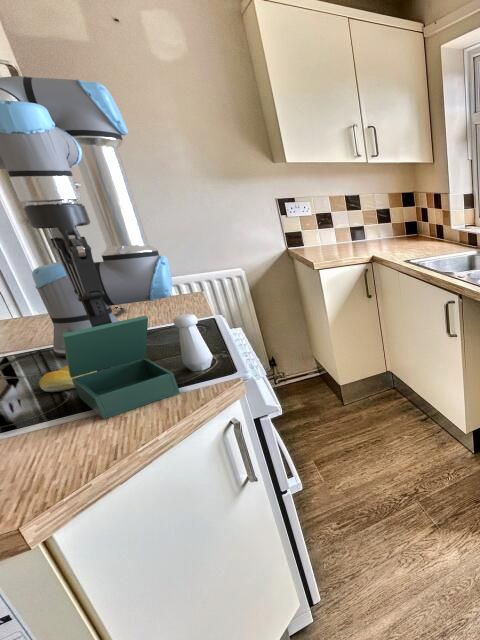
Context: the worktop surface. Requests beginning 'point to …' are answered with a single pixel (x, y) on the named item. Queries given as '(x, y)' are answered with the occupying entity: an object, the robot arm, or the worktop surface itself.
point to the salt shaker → (192, 343)
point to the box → (125, 387)
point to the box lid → (105, 345)
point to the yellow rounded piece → (57, 380)
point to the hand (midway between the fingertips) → (104, 331)
